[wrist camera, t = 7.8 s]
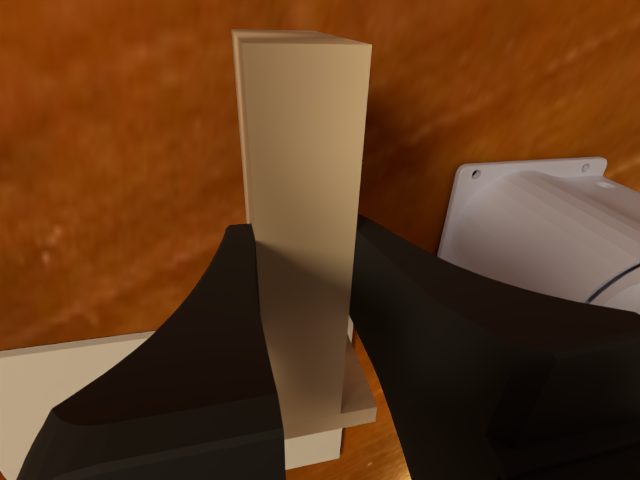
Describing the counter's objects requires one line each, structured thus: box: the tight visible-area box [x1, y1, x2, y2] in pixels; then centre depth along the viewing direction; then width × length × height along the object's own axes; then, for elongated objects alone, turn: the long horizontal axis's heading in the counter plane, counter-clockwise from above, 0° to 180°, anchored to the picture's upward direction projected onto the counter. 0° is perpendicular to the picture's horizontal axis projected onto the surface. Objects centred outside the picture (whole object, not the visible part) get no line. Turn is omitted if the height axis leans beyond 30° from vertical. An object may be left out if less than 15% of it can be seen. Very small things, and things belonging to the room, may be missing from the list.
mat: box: [0, 316, 353, 480], centre depth 26 cm, size 22×16×1 cm
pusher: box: [232, 29, 377, 440], centre depth 12 cm, size 5×12×5 cm, turn 179°
